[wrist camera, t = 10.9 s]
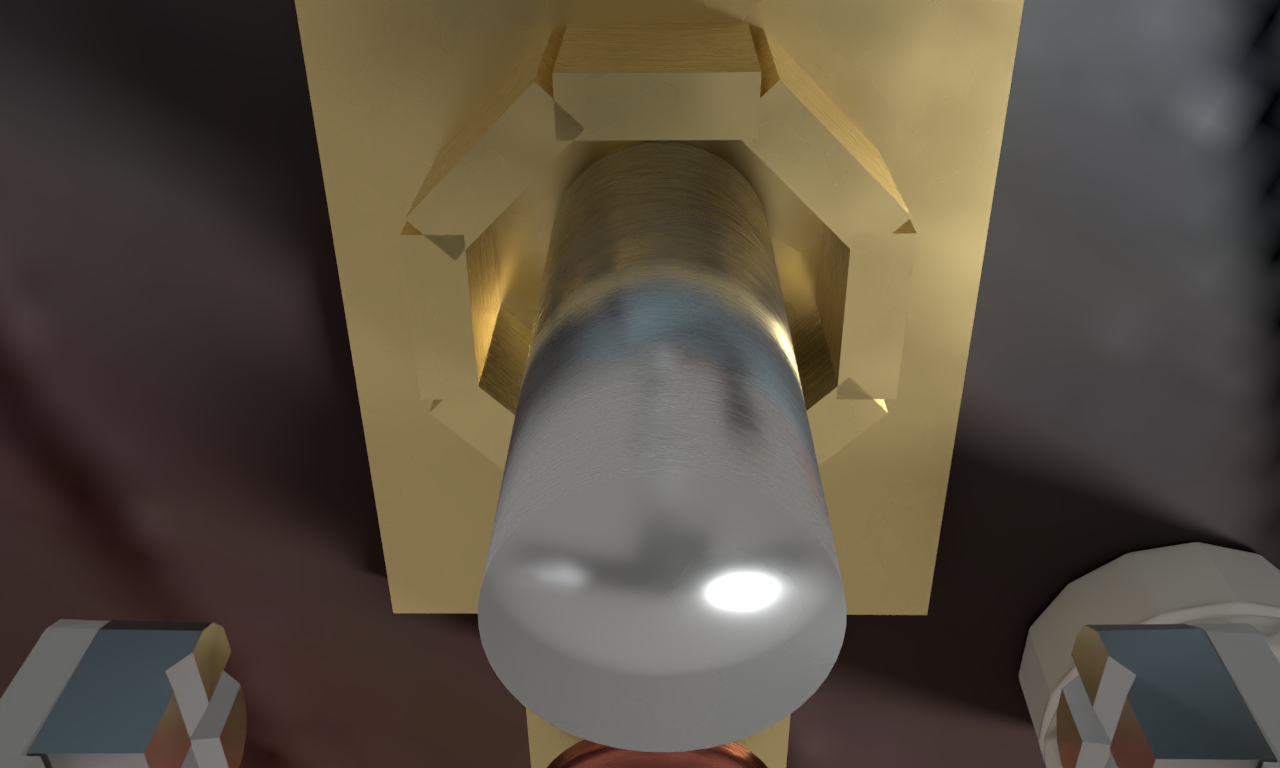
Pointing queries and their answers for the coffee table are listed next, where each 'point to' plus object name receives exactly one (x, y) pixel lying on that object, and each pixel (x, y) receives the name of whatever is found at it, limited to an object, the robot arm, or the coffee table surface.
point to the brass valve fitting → (630, 114)
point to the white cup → (1144, 613)
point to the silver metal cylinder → (661, 473)
